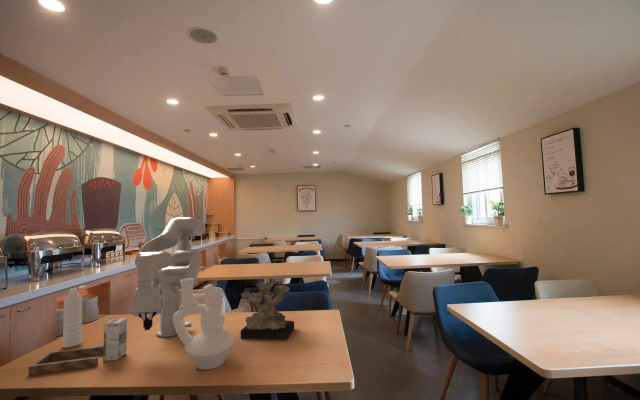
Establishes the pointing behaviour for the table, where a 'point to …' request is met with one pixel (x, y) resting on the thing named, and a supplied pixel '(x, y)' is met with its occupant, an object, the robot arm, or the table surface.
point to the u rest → (47, 367)
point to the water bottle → (72, 318)
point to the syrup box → (115, 339)
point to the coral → (267, 314)
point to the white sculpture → (203, 327)
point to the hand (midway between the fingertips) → (147, 329)
